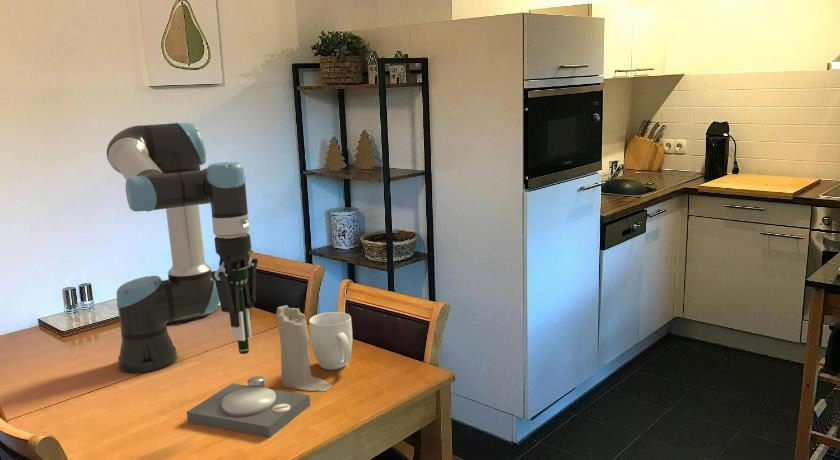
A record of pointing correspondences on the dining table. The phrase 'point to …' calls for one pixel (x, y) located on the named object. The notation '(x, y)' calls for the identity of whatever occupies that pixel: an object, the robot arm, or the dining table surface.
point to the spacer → (256, 381)
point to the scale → (249, 409)
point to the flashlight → (241, 303)
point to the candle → (296, 351)
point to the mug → (331, 339)
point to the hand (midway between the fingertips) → (242, 337)
